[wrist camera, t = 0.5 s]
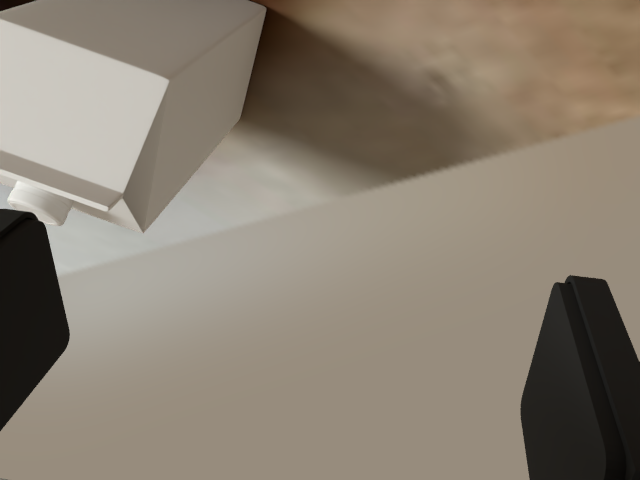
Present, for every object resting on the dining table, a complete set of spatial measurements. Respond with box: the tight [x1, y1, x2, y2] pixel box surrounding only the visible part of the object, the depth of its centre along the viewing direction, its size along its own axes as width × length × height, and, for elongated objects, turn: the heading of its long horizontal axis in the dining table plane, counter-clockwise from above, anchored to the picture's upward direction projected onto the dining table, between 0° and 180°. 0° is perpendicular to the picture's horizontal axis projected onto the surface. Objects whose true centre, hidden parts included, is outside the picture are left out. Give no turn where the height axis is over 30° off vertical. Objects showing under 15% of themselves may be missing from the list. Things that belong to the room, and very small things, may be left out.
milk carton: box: [0, 0, 266, 233], centre depth 29 cm, size 7×7×19 cm
